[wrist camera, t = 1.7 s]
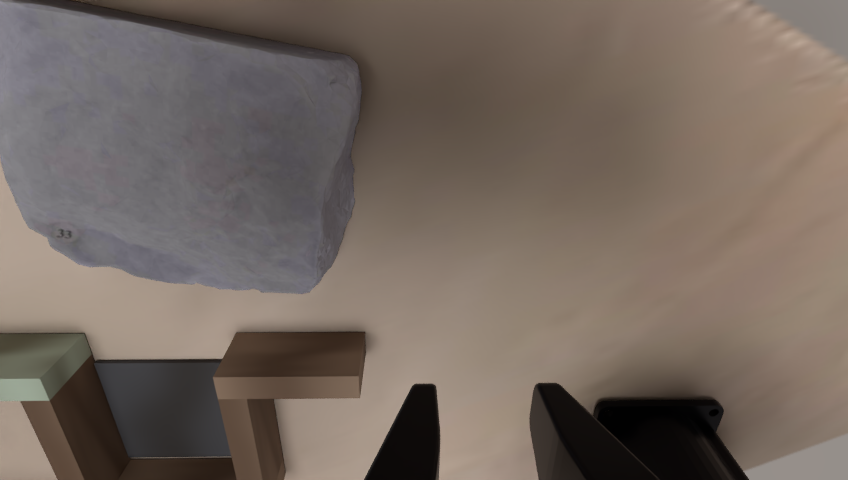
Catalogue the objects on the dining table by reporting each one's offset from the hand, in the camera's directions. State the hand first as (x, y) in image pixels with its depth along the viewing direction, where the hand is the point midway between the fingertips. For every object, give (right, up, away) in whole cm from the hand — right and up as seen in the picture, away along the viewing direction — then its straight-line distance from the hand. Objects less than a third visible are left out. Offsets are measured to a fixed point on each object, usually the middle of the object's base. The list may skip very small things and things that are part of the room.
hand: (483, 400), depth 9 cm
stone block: (-10, +6, +11) cm, 16 cm away
